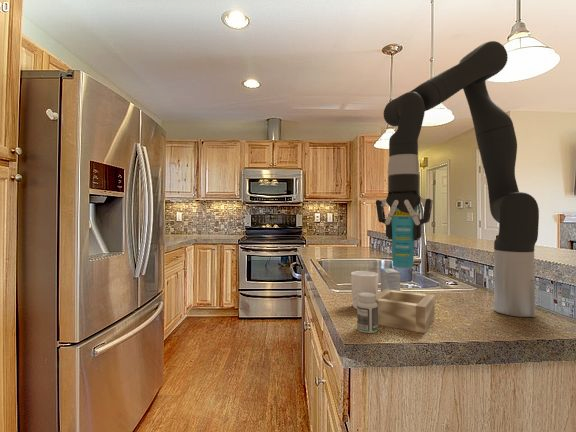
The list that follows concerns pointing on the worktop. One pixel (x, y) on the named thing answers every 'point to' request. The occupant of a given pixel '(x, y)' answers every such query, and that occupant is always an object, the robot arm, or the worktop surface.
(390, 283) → the medicine box
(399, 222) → the tube
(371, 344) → the worktop surface
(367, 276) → the white cup
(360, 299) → the pill bottle
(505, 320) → the worktop surface
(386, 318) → the socket holder
